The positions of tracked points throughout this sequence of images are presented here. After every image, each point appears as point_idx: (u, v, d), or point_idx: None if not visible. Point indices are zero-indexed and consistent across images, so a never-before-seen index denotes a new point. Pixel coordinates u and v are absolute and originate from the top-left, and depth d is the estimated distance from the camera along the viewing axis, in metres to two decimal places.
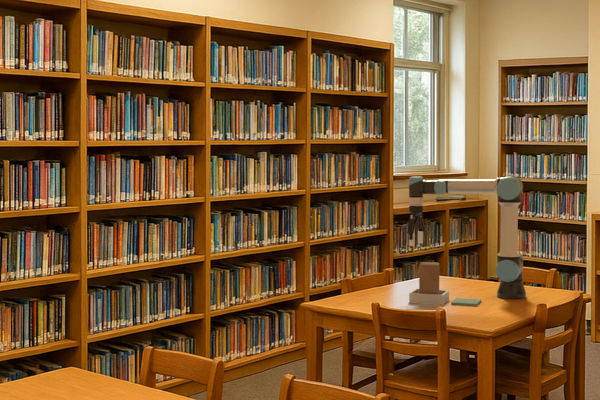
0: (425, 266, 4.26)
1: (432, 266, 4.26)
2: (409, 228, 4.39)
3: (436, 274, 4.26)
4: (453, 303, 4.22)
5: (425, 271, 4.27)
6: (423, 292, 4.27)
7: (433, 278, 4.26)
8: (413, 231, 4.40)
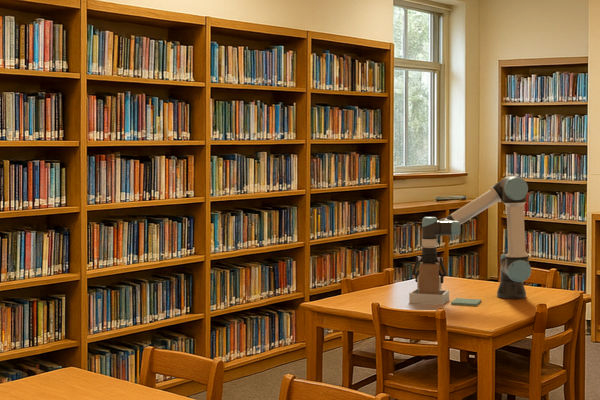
0: (425, 266, 4.26)
1: (432, 266, 4.26)
2: None
3: (436, 274, 4.26)
4: (453, 303, 4.22)
5: (425, 271, 4.27)
6: (423, 292, 4.27)
7: (433, 278, 4.26)
8: (417, 273, 4.32)
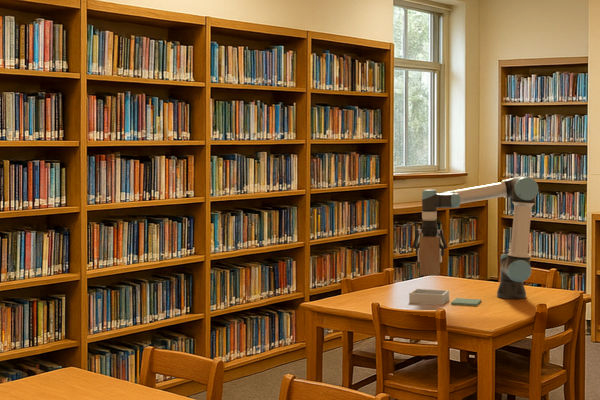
0: (425, 239, 4.26)
1: (432, 239, 4.25)
2: None
3: (436, 246, 4.25)
4: (453, 303, 4.22)
5: (425, 244, 4.26)
6: (424, 265, 4.27)
7: (433, 250, 4.25)
8: (417, 246, 4.32)
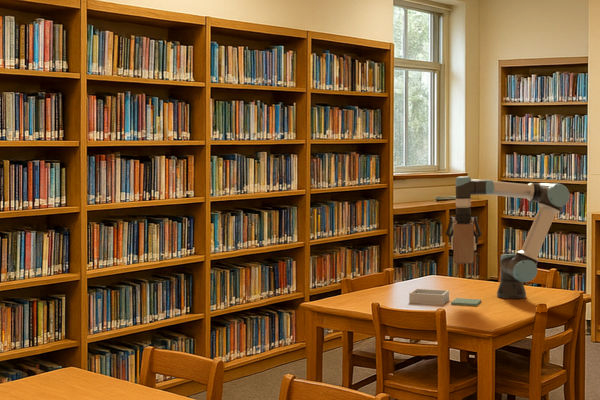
0: (459, 226, 4.20)
1: (466, 226, 4.19)
2: (447, 230, 4.28)
3: (471, 234, 4.19)
4: (453, 303, 4.22)
5: (459, 231, 4.20)
6: (457, 253, 4.21)
7: (467, 238, 4.19)
8: (451, 234, 4.26)
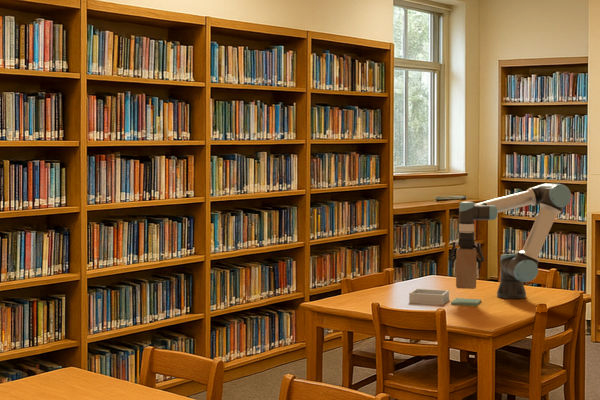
0: (462, 251, 4.20)
1: (469, 251, 4.19)
2: None
3: (474, 259, 4.19)
4: (453, 303, 4.22)
5: (462, 257, 4.20)
6: (460, 278, 4.21)
7: (470, 263, 4.19)
8: (453, 259, 4.26)
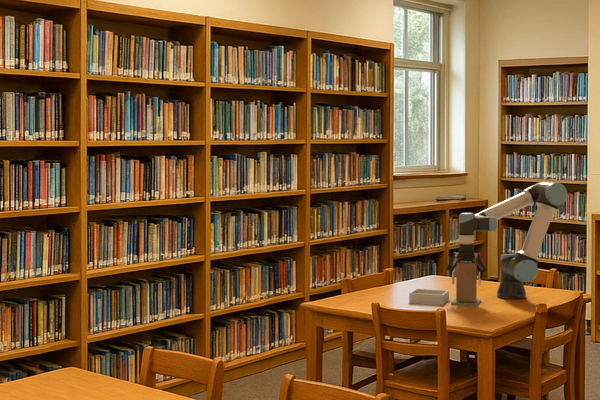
0: (462, 265, 4.20)
1: (470, 265, 4.19)
2: (448, 265, 4.28)
3: (474, 273, 4.19)
4: (453, 303, 4.22)
5: (462, 270, 4.20)
6: (460, 291, 4.21)
7: (470, 277, 4.20)
8: (452, 269, 4.26)
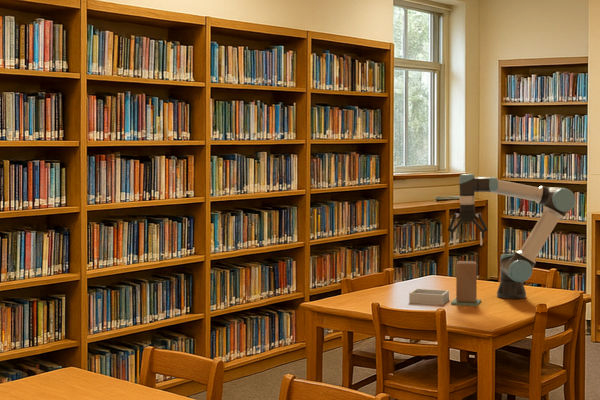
0: (462, 265, 4.20)
1: (470, 265, 4.19)
2: (449, 226, 4.32)
3: (474, 273, 4.19)
4: (453, 303, 4.22)
5: (462, 270, 4.20)
6: (460, 291, 4.21)
7: (470, 277, 4.20)
8: (453, 230, 4.30)
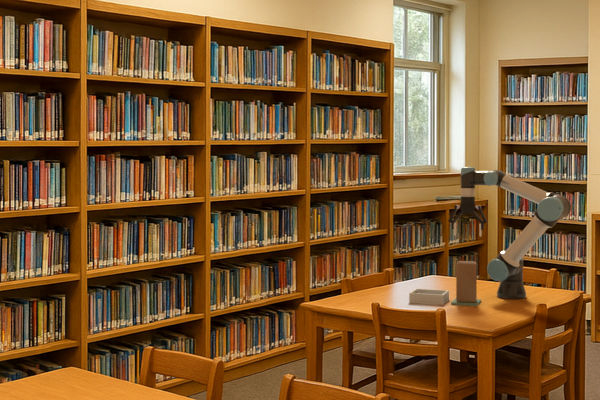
0: (462, 265, 4.20)
1: (470, 265, 4.19)
2: (450, 217, 4.46)
3: (474, 273, 4.19)
4: (453, 303, 4.22)
5: (462, 270, 4.20)
6: (460, 291, 4.21)
7: (470, 277, 4.20)
8: (453, 221, 4.44)
